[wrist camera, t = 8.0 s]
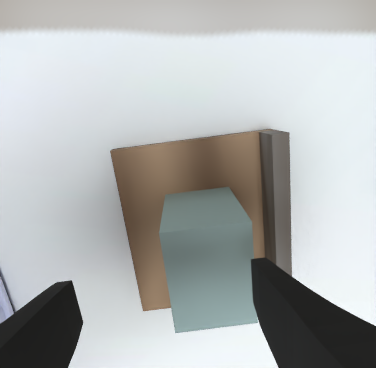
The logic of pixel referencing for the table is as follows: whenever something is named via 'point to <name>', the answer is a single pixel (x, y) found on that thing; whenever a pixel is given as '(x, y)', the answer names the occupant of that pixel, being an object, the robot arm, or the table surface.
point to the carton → (207, 259)
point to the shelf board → (202, 180)
